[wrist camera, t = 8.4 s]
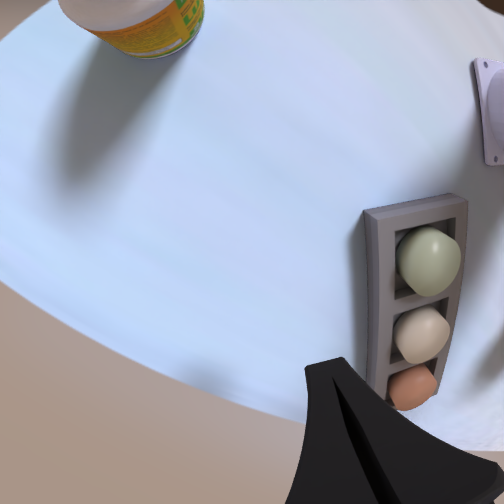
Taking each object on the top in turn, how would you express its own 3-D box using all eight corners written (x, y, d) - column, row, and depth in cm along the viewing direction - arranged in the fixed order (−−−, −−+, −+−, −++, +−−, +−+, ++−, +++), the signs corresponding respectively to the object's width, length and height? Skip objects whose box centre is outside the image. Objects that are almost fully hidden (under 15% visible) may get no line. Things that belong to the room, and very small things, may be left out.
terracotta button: (430, 356, 22) (440, 371, 21) (423, 386, 24) (432, 400, 22) (389, 370, 22) (398, 387, 21) (385, 400, 24) (392, 416, 22)
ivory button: (439, 297, 20) (453, 311, 18) (433, 338, 22) (445, 353, 20) (393, 312, 20) (406, 328, 18) (390, 353, 22) (401, 370, 20)
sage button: (445, 220, 18) (462, 230, 16) (442, 273, 19) (457, 287, 17) (395, 231, 18) (411, 244, 16) (395, 288, 19) (408, 303, 18)
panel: (450, 193, 18) (467, 201, 17) (428, 380, 26) (436, 394, 24) (363, 210, 18) (377, 219, 17) (364, 403, 26) (371, 419, 24)
